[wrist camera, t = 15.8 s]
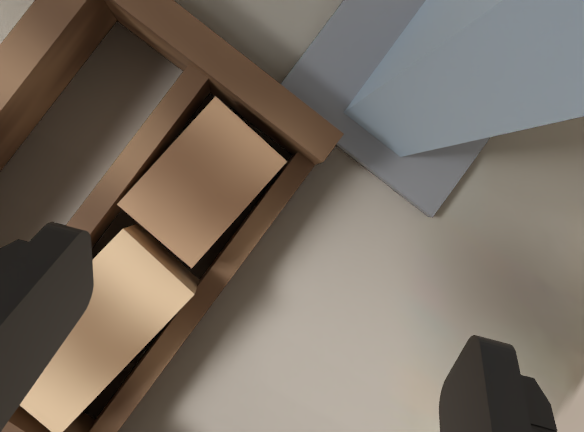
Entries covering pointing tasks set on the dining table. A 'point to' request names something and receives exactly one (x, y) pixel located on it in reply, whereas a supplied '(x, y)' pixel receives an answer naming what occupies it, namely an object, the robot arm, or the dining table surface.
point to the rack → (153, 142)
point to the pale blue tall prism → (475, 73)
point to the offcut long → (111, 325)
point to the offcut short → (202, 182)
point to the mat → (347, 83)
